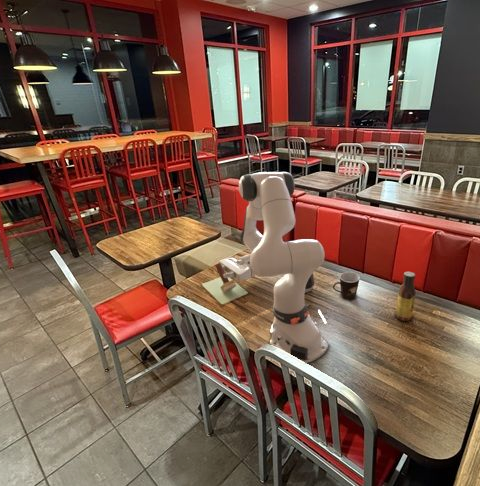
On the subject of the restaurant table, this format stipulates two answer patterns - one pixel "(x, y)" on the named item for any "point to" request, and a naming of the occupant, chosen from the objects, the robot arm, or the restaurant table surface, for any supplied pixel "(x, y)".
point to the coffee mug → (348, 285)
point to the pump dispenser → (309, 284)
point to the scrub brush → (225, 280)
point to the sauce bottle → (406, 298)
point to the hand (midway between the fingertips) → (220, 273)
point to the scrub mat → (216, 291)
